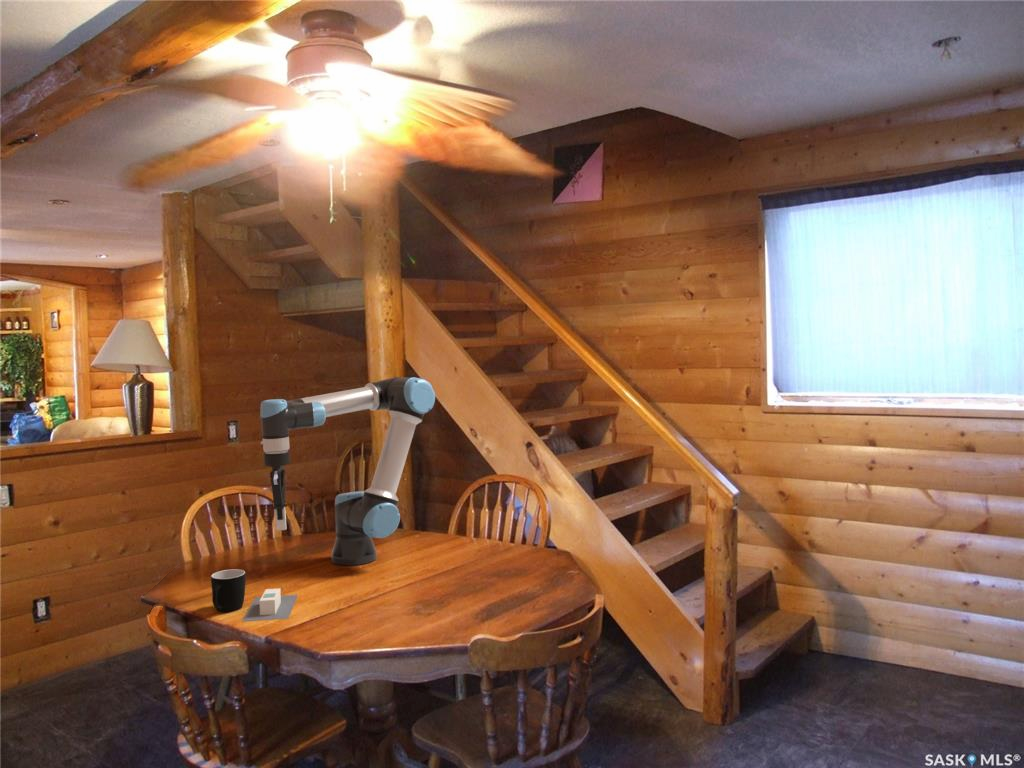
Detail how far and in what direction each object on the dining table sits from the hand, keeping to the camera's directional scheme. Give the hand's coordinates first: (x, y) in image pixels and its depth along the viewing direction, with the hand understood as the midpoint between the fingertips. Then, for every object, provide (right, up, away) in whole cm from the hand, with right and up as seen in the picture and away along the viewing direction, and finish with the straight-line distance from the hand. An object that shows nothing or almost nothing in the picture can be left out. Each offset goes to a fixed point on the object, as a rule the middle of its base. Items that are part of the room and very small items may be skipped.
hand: (281, 529), depth 232 cm
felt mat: (+2, -19, -16) cm, 25 cm away
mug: (-10, -20, -18) cm, 28 cm away
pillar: (+1, -17, -12) cm, 21 cm away
